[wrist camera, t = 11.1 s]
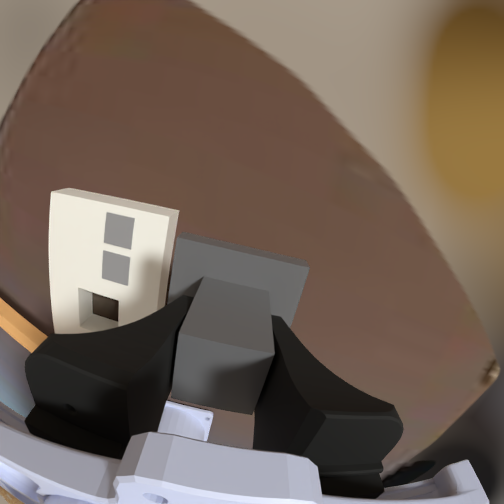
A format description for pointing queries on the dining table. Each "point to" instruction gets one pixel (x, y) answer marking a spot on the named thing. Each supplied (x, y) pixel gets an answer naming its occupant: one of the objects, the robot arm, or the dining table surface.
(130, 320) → the white flat panel
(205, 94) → the dining table surface
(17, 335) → the tan wooden plank
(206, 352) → the plug
